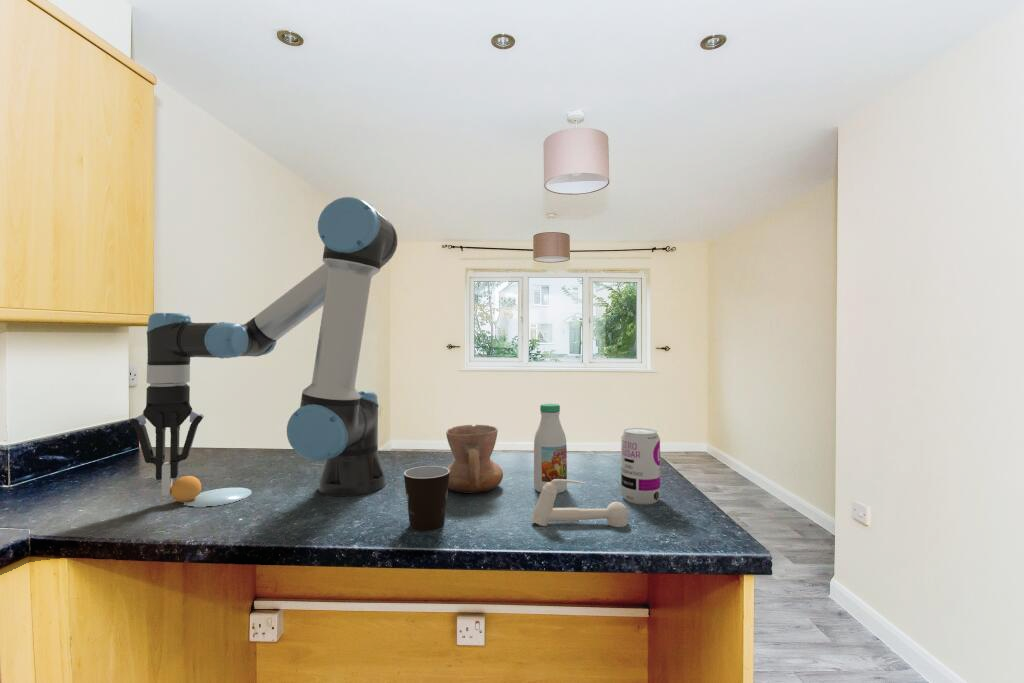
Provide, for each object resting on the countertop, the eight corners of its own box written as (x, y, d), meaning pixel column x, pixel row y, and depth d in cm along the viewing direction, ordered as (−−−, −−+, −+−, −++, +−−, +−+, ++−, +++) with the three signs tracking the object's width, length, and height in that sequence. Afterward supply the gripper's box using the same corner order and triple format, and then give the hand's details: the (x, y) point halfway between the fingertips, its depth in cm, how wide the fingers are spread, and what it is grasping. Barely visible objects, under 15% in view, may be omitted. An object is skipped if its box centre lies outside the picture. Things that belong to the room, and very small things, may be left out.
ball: (188, 503, 104) (209, 483, 106) (182, 510, 99) (205, 489, 101) (167, 487, 102) (189, 468, 104) (161, 494, 97) (184, 473, 99)
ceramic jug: (444, 478, 118) (443, 423, 118) (501, 476, 119) (500, 421, 119) (438, 504, 100) (437, 438, 100) (505, 501, 101) (504, 436, 101)
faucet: (621, 553, 86) (638, 502, 86) (531, 522, 86) (548, 472, 86) (616, 543, 90) (632, 495, 90) (530, 515, 90) (546, 466, 90)
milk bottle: (529, 492, 107) (529, 405, 107) (540, 483, 114) (539, 401, 114) (561, 496, 104) (561, 407, 104) (570, 486, 111) (570, 403, 111)
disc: (252, 485, 113) (252, 484, 113) (250, 501, 101) (250, 500, 101) (188, 493, 107) (188, 492, 107) (177, 511, 95) (177, 510, 95)
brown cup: (440, 535, 83) (440, 479, 83) (395, 531, 84) (395, 477, 84) (460, 512, 94) (460, 463, 94) (420, 509, 96) (420, 461, 96)
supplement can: (662, 496, 104) (661, 429, 104) (657, 507, 96) (656, 435, 96) (625, 491, 107) (625, 426, 107) (618, 502, 100) (617, 432, 100)
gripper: (206, 382, 106) (205, 485, 106) (135, 384, 100) (133, 492, 100) (202, 384, 100) (200, 494, 99) (125, 386, 94) (123, 503, 93)
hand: (166, 493), depth 100 cm, fingers closed
